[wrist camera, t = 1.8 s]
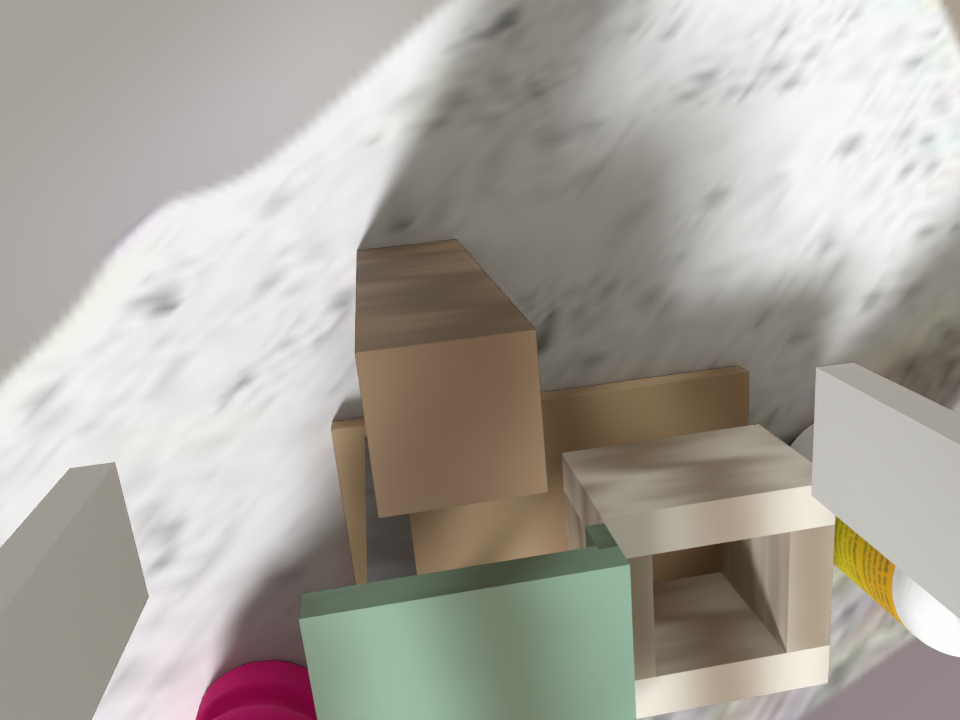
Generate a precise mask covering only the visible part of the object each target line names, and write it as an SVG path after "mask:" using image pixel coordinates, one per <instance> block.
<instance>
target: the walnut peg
mask: <svg viewBox="0 0 960 720" xmlns="http://www.w3.org/2000/svg"><path fill="white" fill-rule="evenodd" d="M355 358H356V365H357V372H358V378H359V385H360V392H361V399H362V406H363V413H364V420H365V427H366V434H367V440H368V447H369V454H370V461H371V468H372V475H373V482H374V489H375V496H376V502H377V509H378V516H379V518H383V517H390V516H396V515H403V514H409V513H416V512H422V511H429V510H436V509H442V508H449V507H455V506H462V505H468V504H475V503H481V502H488V501H494V500H501V499H508V498H514V497H521V496H527V495H534V494H540V493H547V492H548V489H547V476H546V462H545V448H544V435H543V421H542V408H541V394H540V380H539V367H538V353H537V340H536V329H535V328H534V327H533V326H532V325H531V324H530V323H529V321H528V320H527V319H526V318H525V317H524V316H523V315H522V313H521V312H520V311H519V310H518V309H517V308H516V307H515V305H514V304H513V303H512V302H511V301H510V300H509V299H508V297H507V296H506V295H505V294H504V293H503V292H502V291H501V290H500V288H499V287H498V286H497V285H496V284H495V283H494V282H493V280H492V279H491V278H490V277H489V276H488V275H487V274H486V272H485V271H484V270H483V269H482V268H481V267H480V266H479V264H478V263H477V262H476V261H475V260H474V259H473V258H472V256H471V255H470V254H469V253H468V252H467V251H466V250H465V249H464V247H463V246H462V245H461V244H460V243H459V242H458V241H457V239H454V240H446V241H437V242H428V243H419V244H411V245H402V246H393V247H384V248H375V249H367V250H358V251H357V268H356V317H355Z"/></svg>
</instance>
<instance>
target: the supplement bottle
mask: <svg viewBox="0 0 960 720" xmlns="http://www.w3.org/2000/svg"><path fill="white" fill-rule="evenodd" d="M813 437H814V423H813V424H812V425H811V426H809V427H808V428H807V429H805V430H804V431H803V432H802V433H801V434H800V435H799V436H798V437H797V438H796V439H795V441H794V442H793V443H792V445H791V446H790V447H791V448H792V449H794V450H795V451H796V452H798V453H799V454H801V455H802V456H803V457H805V458H806V459H807V460H809V461H810V462H811V463H813ZM833 563H834V564H835V565H836V566H837V567H838V568H839V569H840V570H842V571H843V572H844V573H845V574H846V575H847V576H848V577H849V578H850V579H852V580H853V581H854V582H855V583H856V584H857V585H858V586H859V587H861V588H862V589H863V590H864V591H865V592H866V593H867V594H868V595H870V596H871V597H872V598H873V599H874V600H875V601H876V602H877V603H879V604H880V605H881V606H882V607H883V608H884V609H885V610H886V611H888V612H889V613H890V614H891V615H892V616H893V617H894V618H895V619H897V620H898V621H899V622H900V623H901V624H902V625H903V626H904V627H905V628H907V629H908V630H909V631H910V632H911V633H912V634H913V635H915V636H916V637H917V638H918V639H920V640H921V641H922V642H924V643H925V644H927V645H928V646H930V647H932V648H934V649H936V650H938V651H940V652H943V653H946V654H949V655H952V656H957V657H960V619H959V618H958V617H956V616H955V615H954V614H953V613H952V612H951V611H949V610H948V609H947V608H946V607H945V606H943V605H942V604H941V603H940V602H939V601H937V600H936V599H935V598H934V597H933V596H931V595H930V594H929V593H928V592H927V591H925V590H924V589H923V588H922V587H921V586H919V585H918V584H917V583H916V582H915V581H913V580H912V579H911V578H910V577H909V576H907V575H906V574H905V573H904V572H903V571H901V570H900V569H899V568H898V567H897V566H895V565H894V564H893V563H892V562H891V561H889V560H888V559H887V558H886V557H885V556H883V555H882V554H881V553H880V552H879V551H877V550H876V549H875V548H874V547H873V546H871V545H870V544H869V543H868V542H867V541H865V540H864V539H863V538H862V537H861V536H859V535H858V534H857V533H856V532H855V531H853V530H852V529H851V528H850V527H849V526H847V525H846V524H845V523H844V522H843V521H841V520H840V519H839V518H838V517H837V516H835V534H834V557H833Z"/></svg>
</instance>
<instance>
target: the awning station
mask: <svg viewBox="0 0 960 720" xmlns="http://www.w3.org/2000/svg"><path fill="white" fill-rule="evenodd" d="M540 394H541V408H542V421H543V435H544V448H545V462H546V476H547V489H548V492H547V493H540V494H534V495H527V496H521V497H514V498H508V499H501V500H494V501H488V502H481V503H475V504H468V505H462V506H455V507H449V508H442V509H436V510H429V511H422V512H416V513H409V514H403V515H396V516H390V517H383V518H379V516H378V509H377V502H376V496H375V489H374V482H373V475H372V468H371V461H370V454H369V447H368V440H367V434H366V427H365V420H364V417H361V418H353V419H346V420H339V421H332V428H331V432H332V438H333V444H334V450H335V457H336V463H337V469H338V476H339V482H340V488H341V494H342V501H343V507H344V513H345V520H346V526H347V532H348V538H349V545H350V551H351V557H352V564H353V570H354V576H355V582H356V585H352V586H346V587H340V588H333V589H327V590H321V591H315V592H309V593H303V594H302V596H301V604H300V612H299V624H300V629H301V635H302V640H303V646H304V651H305V656H306V662H307V667H308V672H309V678H310V683H311V688H312V694H313V699H314V705H315V710H316V715H317V720H636V719H638V718H644V717H649V716H654V715H660V714H665V713H670V712H675V711H681V710H686V709H691V708H697V707H702V706H707V705H713V704H718V703H723V702H729V701H734V700H739V699H745V698H750V697H755V696H760V695H766V694H771V693H776V692H782V691H787V690H792V689H798V688H803V687H808V686H814V685H819V684H824V683H828V668H829V645H830V623H831V601H832V579H833V557H834V534H835V515H834V514H833V513H832V512H831V511H829V510H828V509H827V508H826V507H825V506H823V505H822V504H821V503H820V502H819V501H817V500H816V499H815V498H814V497H813V496H811V490H812V464H813V463H811V462H810V461H809V460H807V459H806V458H805V457H803V456H802V455H801V454H799V453H798V452H796V451H795V450H794V449H792V448H791V447H790V446H788V445H787V444H786V443H784V442H783V441H781V440H780V439H779V438H777V437H776V436H775V435H773V434H772V433H771V432H769V431H768V430H767V429H765V428H764V427H762V426H761V425H760V424H755V425H748V401H749V372H748V371H746V370H745V369H743V368H741V367H740V366H731V367H724V368H717V369H709V370H702V371H695V372H687V373H680V374H673V375H666V376H658V377H651V378H644V379H637V380H629V381H622V382H615V383H608V384H600V385H593V386H586V387H579V388H571V389H564V390H557V391H549V392H542V393H540Z"/></svg>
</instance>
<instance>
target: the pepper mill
mask: <svg viewBox="0 0 960 720" xmlns="http://www.w3.org/2000/svg"><path fill="white" fill-rule="evenodd" d="M196 720H317V715H316V710H315V705H314V699H313V694H312V688H311V683H310V678H309V672H308V669H305V668H303V667H300V666H298V665H295V664H293V663H289V662H282V661H275V660H271V661H257V662H252V663H248V664H245V665H242V666H239V667H237V668H234V669H232V670H231V671H229V672H227V673H226V674H224V675H223V676H222V677H220V678H219V679H218V680H217V681H216V682H215V683H214V684H213V685H211V687H210V688H209V689H208V691H207V692H206V693H205V695H204V697H203V699H202V701H201V704H200V706H199V710H198V713H197V717H196Z"/></svg>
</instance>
